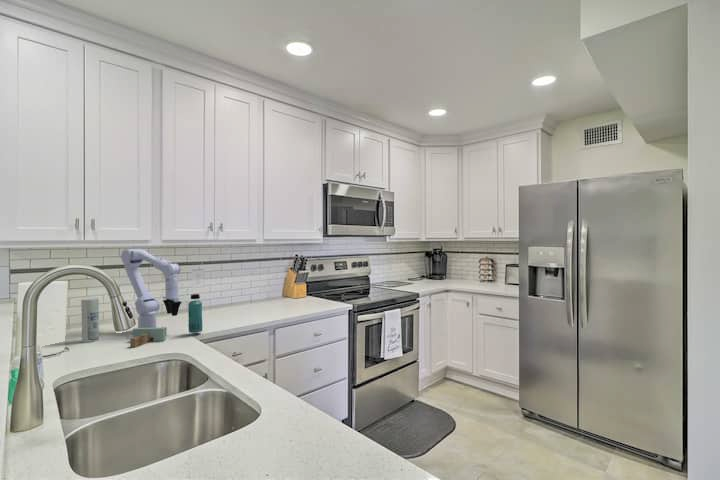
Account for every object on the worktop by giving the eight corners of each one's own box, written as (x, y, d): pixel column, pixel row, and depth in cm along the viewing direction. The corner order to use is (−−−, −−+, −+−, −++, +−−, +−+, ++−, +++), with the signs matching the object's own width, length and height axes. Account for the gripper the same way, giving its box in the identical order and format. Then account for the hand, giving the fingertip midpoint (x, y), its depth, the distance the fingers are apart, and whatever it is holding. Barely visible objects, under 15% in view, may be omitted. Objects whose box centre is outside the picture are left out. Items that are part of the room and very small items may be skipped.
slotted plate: (133, 341, 168) (132, 329, 168) (135, 340, 170) (135, 327, 170) (163, 341, 168) (163, 328, 168) (165, 340, 170) (165, 327, 170)
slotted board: (135, 347, 159) (135, 338, 159) (130, 347, 159) (130, 338, 159) (166, 335, 179) (166, 327, 179) (162, 335, 179) (162, 327, 179)
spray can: (90, 338, 174) (90, 297, 174) (102, 339, 173) (101, 297, 173) (78, 342, 168) (77, 299, 167) (90, 343, 167) (89, 299, 166)
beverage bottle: (198, 331, 184) (198, 292, 184) (205, 334, 180) (204, 294, 180) (186, 334, 179) (185, 294, 179) (192, 336, 175) (191, 295, 175)
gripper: (158, 287, 185) (159, 313, 185) (167, 290, 175) (168, 318, 175) (173, 285, 190) (174, 311, 190) (183, 288, 179) (183, 315, 180)
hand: (172, 314), depth 183 cm, fingers open, 7 cm apart
